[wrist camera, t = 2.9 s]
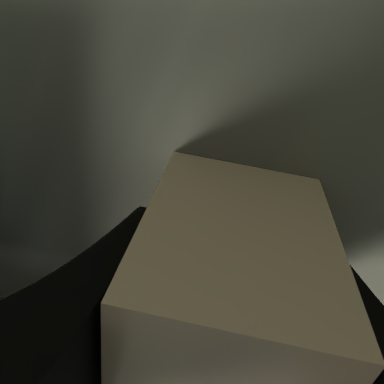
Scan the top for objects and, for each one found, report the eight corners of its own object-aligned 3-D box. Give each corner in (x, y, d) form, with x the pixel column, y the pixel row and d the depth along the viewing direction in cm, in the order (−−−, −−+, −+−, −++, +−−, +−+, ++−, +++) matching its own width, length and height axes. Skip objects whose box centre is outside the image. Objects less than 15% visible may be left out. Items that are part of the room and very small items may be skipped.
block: (319, 179, 10) (385, 366, 5) (279, 283, 13) (297, 481, 8) (174, 151, 11) (100, 303, 5) (161, 258, 13) (102, 434, 8)
